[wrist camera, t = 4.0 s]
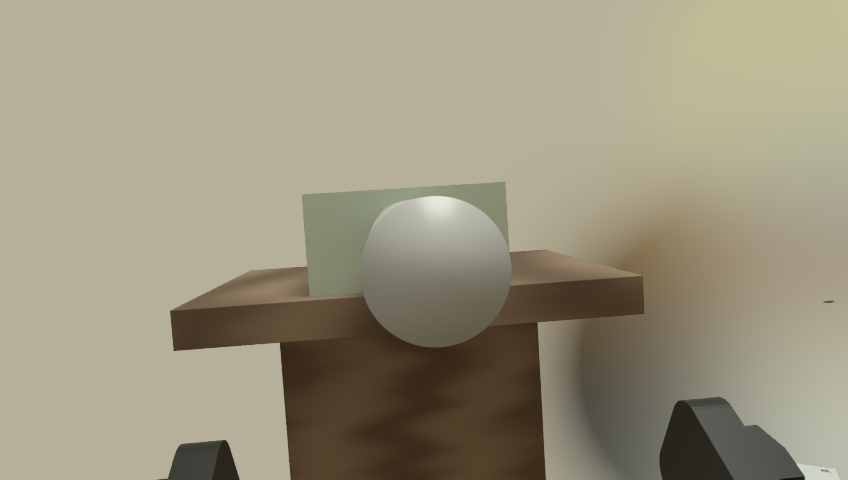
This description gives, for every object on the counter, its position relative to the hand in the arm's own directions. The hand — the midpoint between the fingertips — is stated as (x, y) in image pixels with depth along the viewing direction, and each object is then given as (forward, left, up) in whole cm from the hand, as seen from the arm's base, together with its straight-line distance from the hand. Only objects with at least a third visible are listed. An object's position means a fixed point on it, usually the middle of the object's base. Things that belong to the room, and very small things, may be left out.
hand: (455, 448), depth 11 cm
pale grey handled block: (0, -11, +1) cm, 11 cm away
